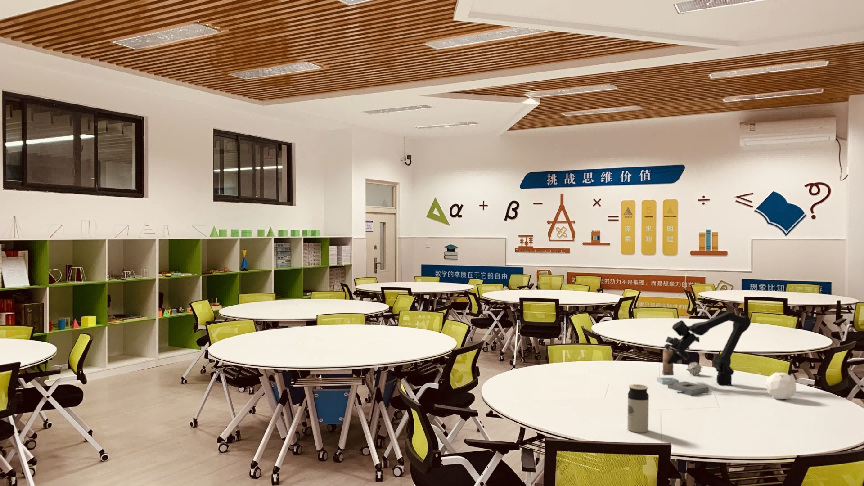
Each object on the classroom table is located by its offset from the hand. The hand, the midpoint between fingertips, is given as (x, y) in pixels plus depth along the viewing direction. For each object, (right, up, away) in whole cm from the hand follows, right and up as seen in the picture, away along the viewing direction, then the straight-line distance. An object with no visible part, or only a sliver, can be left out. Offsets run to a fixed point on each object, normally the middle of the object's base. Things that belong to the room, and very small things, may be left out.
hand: (665, 362), depth 338 cm
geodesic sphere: (+47, -13, -28) cm, 56 cm away
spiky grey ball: (+26, -12, +25) cm, 38 cm away
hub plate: (+6, -12, -15) cm, 20 cm away
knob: (+1, -7, 0) cm, 7 cm away
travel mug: (-42, -12, -83) cm, 94 cm away
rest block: (+1, -12, 0) cm, 12 cm away
